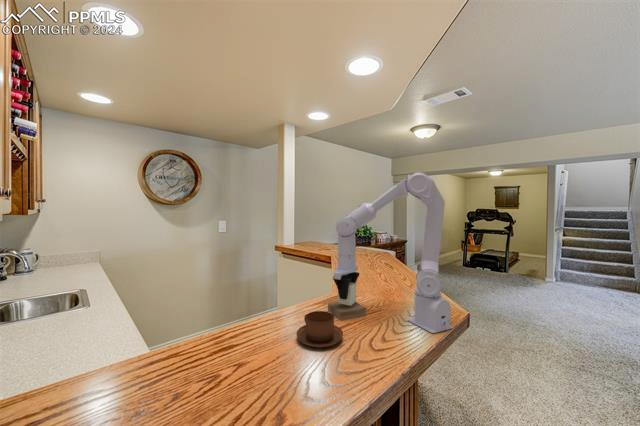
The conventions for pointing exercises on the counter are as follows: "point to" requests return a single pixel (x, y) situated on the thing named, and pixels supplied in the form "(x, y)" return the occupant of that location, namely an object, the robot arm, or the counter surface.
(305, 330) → the cup and saucer
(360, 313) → the walnut slab
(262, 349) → the counter surface
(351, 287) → the sage block
